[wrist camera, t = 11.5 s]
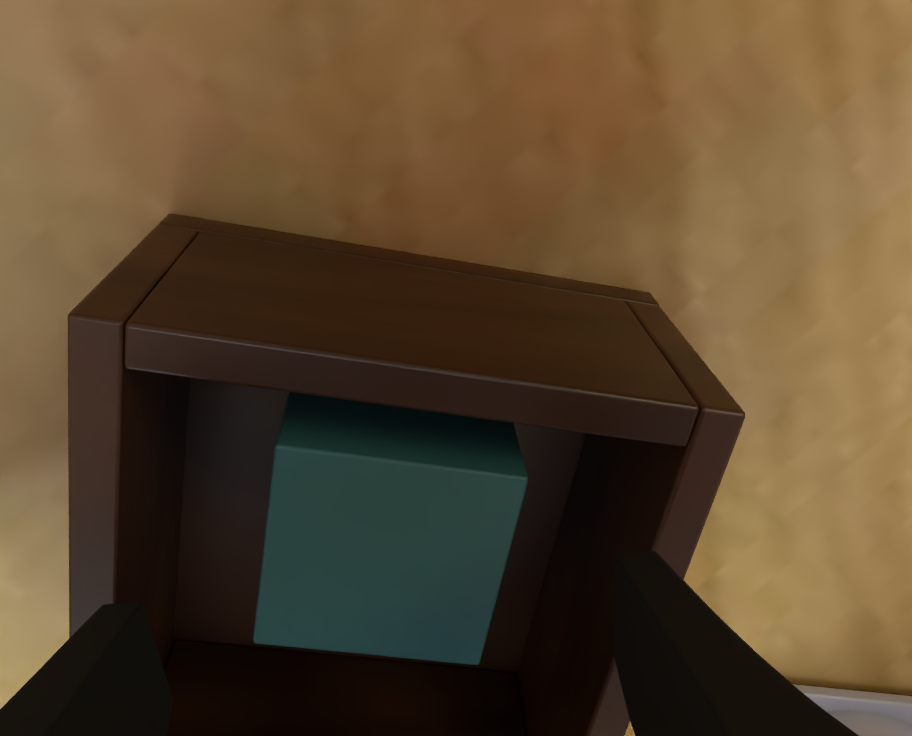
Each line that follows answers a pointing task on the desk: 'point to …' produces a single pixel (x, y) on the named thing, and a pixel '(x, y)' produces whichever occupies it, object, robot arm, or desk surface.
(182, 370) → the box
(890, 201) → the desk surface
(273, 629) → the block
